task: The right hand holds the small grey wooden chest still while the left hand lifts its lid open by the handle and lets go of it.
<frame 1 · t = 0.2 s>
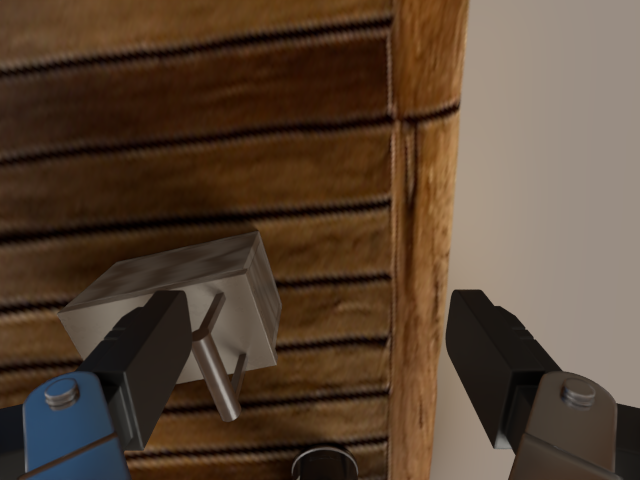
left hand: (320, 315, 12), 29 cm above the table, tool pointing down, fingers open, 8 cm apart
lid: (157, 361, 31), point 13 cm above the table, hinge at 0.0°
chest: (201, 284, 44), on the table
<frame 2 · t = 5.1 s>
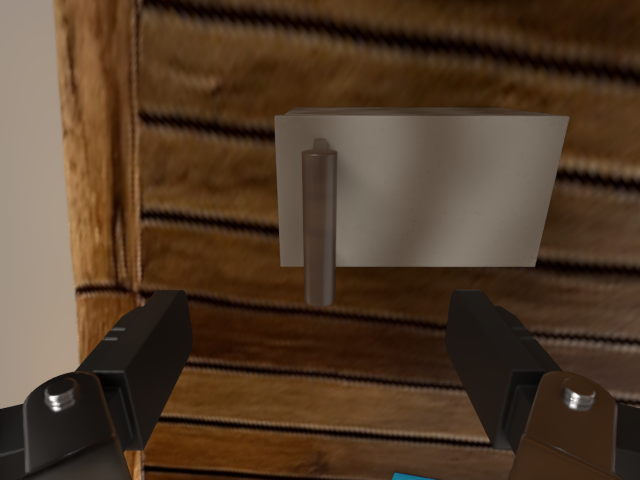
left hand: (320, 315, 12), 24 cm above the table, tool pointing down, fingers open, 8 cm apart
lid: (426, 210, 21), point 13 cm above the table, hinge at 0.0°
chest: (389, 165, 34), on the table
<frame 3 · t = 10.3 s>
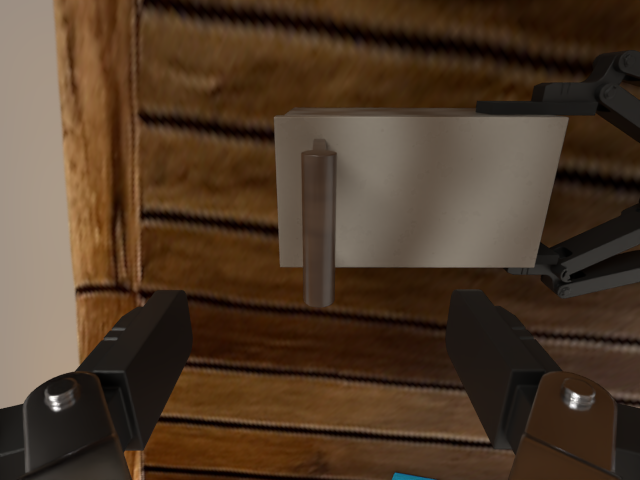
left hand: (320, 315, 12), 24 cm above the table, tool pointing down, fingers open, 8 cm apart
lid: (425, 211, 21), point 13 cm above the table, hinge at 0.0°
chest: (389, 165, 34), on the table, touching right hand
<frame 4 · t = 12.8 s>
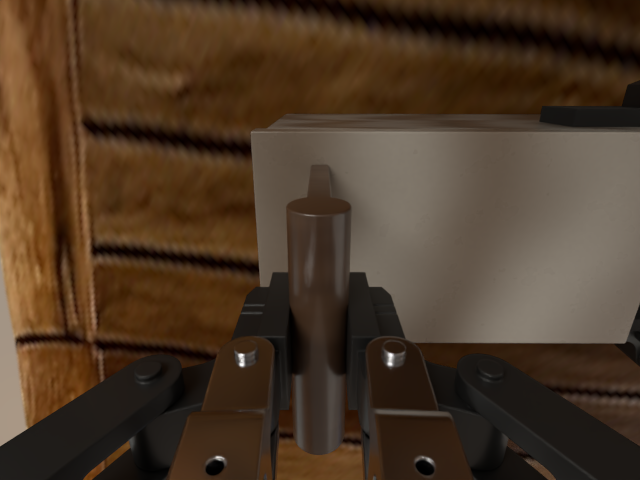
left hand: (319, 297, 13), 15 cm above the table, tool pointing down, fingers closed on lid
lid: (485, 280, 14), point 13 cm above the table, hinge at -0.1°, touching left hand
chest: (410, 188, 26), on the table, touching right hand
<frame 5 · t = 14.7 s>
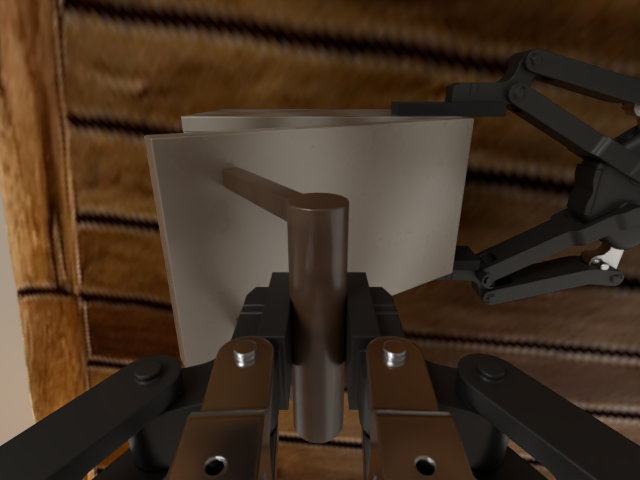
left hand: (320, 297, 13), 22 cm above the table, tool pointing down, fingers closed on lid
right hand: (389, 188, 26), fingers closed on chest, 10 cm apart
lid: (391, 246, 17), point 18 cm above the table, hinge at 34.8°, touching left hand
chest: (322, 168, 33), on the table, touching right hand
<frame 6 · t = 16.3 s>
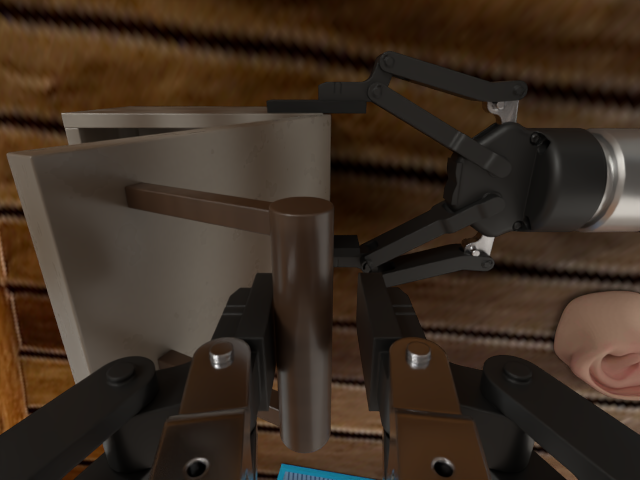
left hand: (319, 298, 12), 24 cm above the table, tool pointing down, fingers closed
right hand: (272, 180, 28), fingers closed on chest, 10 cm apart
anatomical model: (606, 337, 42), on the table
lid: (305, 242, 17), point 19 cm above the table, hinge at 63.1°
chest: (230, 162, 35), on the table, touching right hand
when the right hand's fingers open (7 cm above the table, at t = 20.3 s): chest stays where it is, on the table.
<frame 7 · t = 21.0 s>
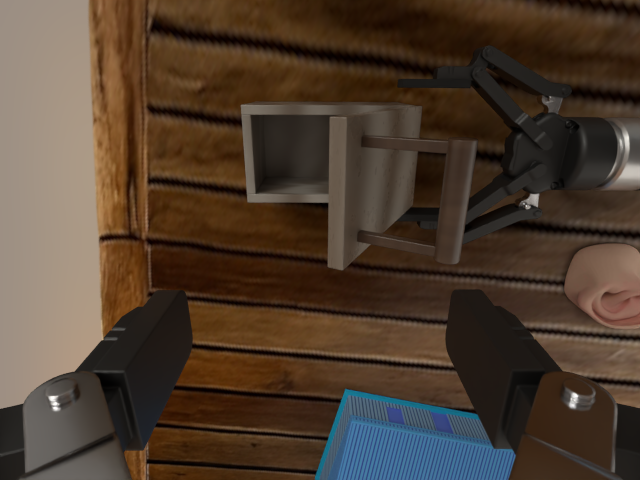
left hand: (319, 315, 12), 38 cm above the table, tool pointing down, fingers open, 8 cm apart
right hand: (394, 152, 40), fingers open, 13 cm apart
anatomical model: (604, 281, 54), on the table
lid: (425, 178, 29), point 19 cm above the table, hinge at 62.0°
model building: (434, 459, 67), on the table
chest: (326, 143, 47), on the table
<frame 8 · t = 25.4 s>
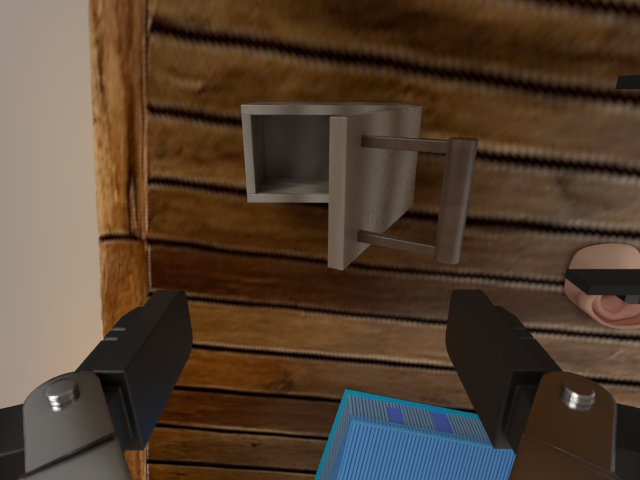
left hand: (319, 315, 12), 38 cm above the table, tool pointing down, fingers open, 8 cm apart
anatomical model: (604, 281, 54), on the table
lid: (425, 178, 29), point 19 cm above the table, hinge at 62.0°
model building: (434, 459, 67), on the table
chest: (326, 143, 47), on the table
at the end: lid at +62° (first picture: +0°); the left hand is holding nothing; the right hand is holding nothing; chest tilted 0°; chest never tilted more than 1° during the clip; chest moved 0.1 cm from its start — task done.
